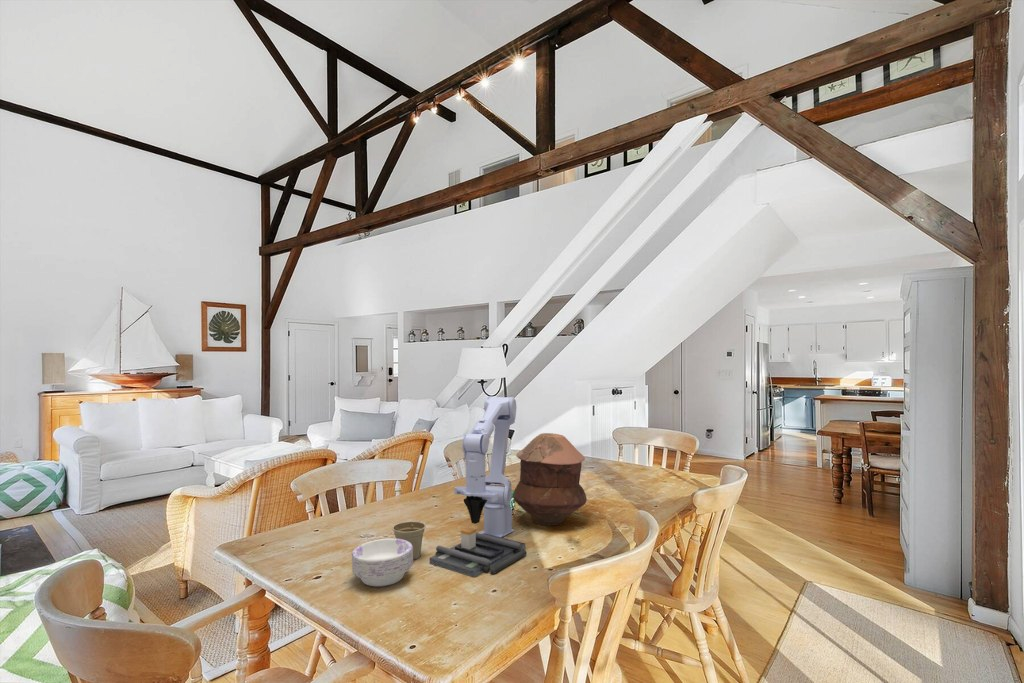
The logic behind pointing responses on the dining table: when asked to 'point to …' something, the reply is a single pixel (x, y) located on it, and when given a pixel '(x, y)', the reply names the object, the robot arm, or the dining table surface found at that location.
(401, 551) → the paper bowls
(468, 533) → the breaker lever
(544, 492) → the pottery vessel
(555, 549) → the dining table surface
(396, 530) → the flower pot
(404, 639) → the dining table surface
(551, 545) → the dining table surface
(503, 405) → the robot arm
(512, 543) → the dark grey bar
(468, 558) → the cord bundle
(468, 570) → the breaker panel
